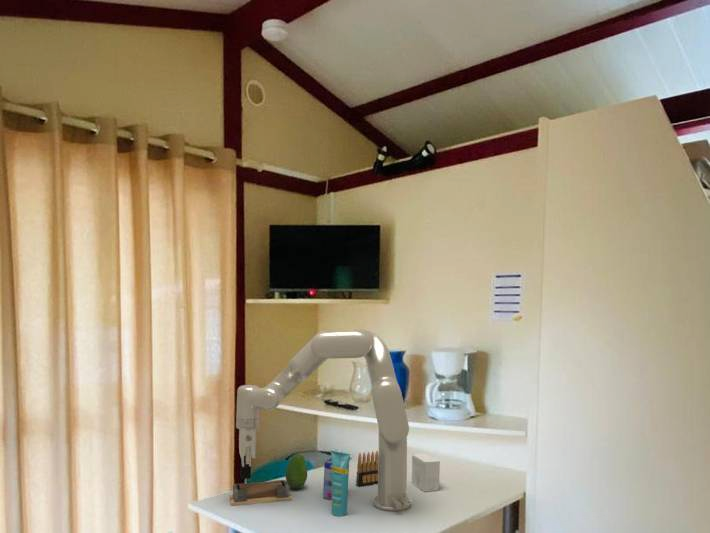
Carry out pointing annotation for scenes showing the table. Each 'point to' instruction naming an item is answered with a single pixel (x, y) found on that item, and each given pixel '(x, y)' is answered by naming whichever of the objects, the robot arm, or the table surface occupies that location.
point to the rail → (241, 498)
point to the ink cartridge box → (328, 479)
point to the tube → (339, 482)
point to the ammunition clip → (367, 470)
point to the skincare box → (425, 472)
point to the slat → (261, 489)
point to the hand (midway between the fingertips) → (245, 477)
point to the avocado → (296, 472)
